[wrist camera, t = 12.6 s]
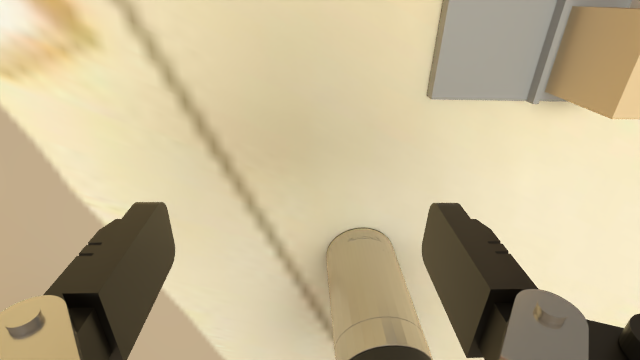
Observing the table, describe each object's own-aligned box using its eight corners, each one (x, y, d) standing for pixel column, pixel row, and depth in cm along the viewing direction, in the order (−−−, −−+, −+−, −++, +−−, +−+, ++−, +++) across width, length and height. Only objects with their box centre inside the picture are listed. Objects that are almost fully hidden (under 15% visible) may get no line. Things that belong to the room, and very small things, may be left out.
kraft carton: (619, 7, 33) (720, 11, 25) (587, 92, 37) (665, 119, 29) (572, 6, 33) (658, 10, 25) (544, 91, 36) (611, 119, 29)
